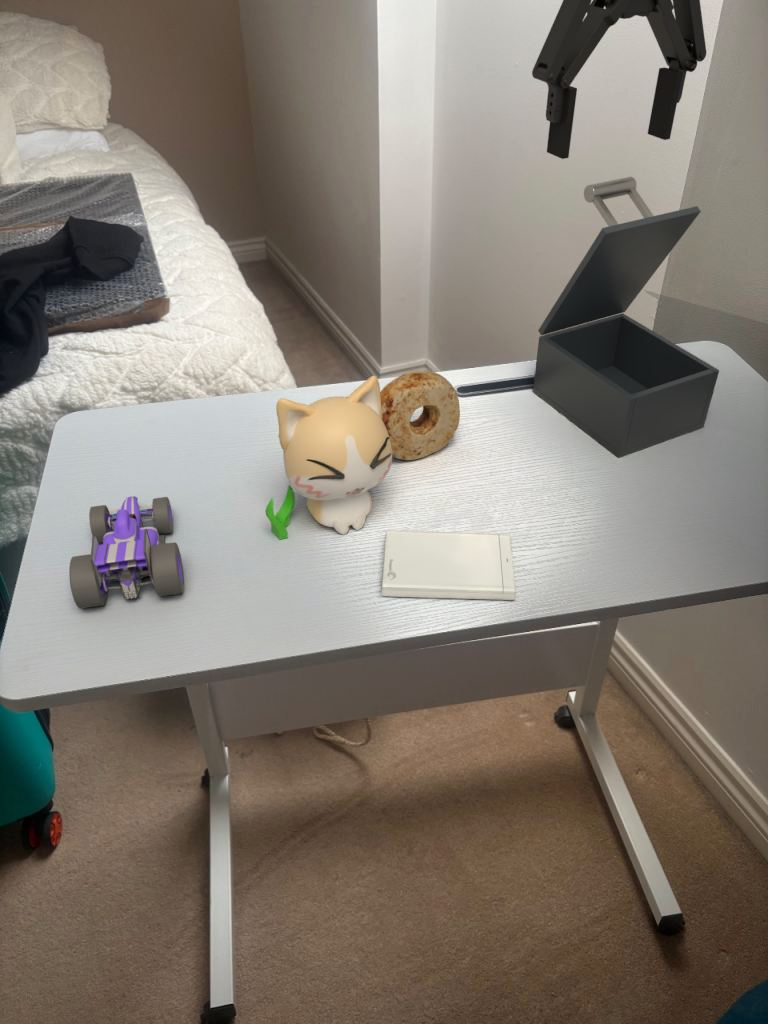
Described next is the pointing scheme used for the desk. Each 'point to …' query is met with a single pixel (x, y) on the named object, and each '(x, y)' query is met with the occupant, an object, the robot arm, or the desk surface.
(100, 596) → the toy race car
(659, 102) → the robot arm
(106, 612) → the desk surface
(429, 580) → the hard drive
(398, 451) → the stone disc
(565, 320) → the box lid
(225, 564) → the desk surface
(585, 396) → the black box
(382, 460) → the kitten
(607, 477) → the desk surface
